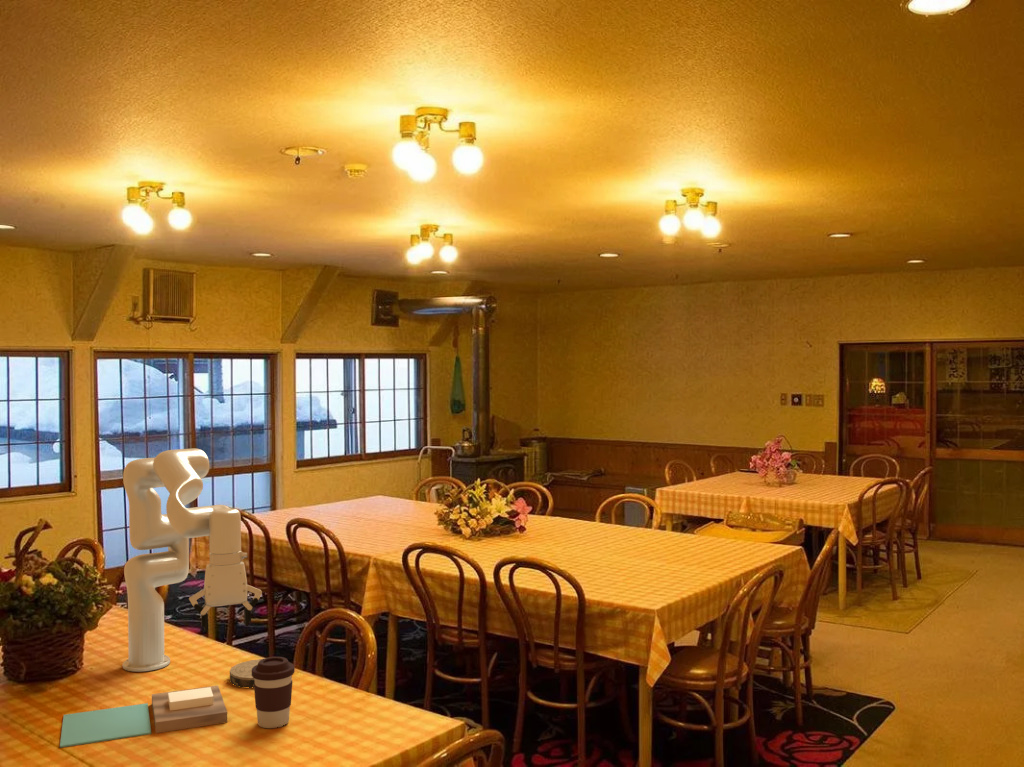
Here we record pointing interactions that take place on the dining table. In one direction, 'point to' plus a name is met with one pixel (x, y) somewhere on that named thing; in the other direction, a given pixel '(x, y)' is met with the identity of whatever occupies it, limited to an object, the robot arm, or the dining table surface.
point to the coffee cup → (273, 691)
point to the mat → (105, 725)
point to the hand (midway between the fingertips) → (226, 627)
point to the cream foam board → (190, 698)
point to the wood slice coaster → (243, 674)
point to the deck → (187, 713)
